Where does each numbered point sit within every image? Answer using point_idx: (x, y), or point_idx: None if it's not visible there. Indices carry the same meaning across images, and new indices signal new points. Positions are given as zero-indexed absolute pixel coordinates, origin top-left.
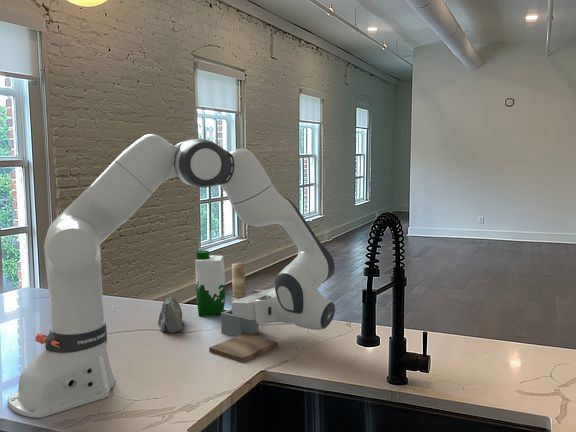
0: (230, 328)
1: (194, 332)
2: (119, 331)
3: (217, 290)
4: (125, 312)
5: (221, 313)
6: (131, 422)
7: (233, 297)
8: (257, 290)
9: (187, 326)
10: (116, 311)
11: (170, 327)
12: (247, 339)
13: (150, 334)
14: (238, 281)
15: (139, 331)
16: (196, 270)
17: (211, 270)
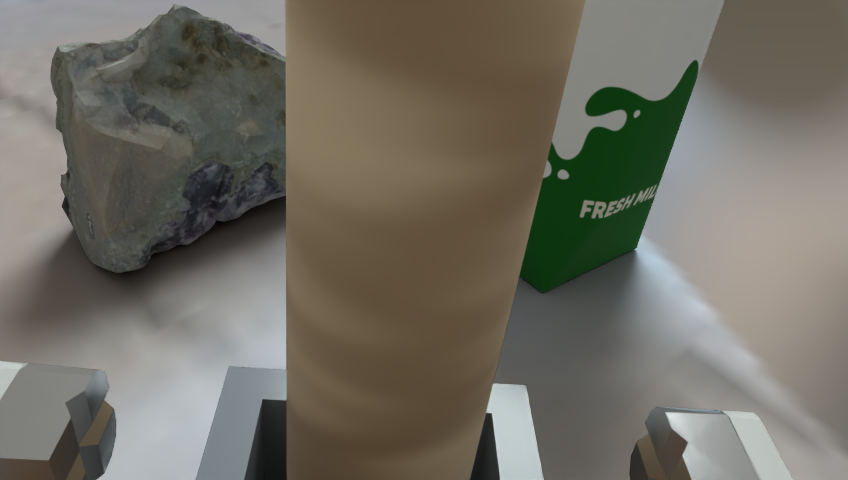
0: None
1: (161, 343)
2: (35, 106)
3: (570, 118)
4: (283, 44)
5: (228, 378)
6: None
7: (42, 387)
8: (744, 464)
9: (253, 258)
10: (275, 29)
11: (76, 221)
12: None
13: (30, 197)
14: (310, 117)
15: (64, 150)
16: None
17: None
